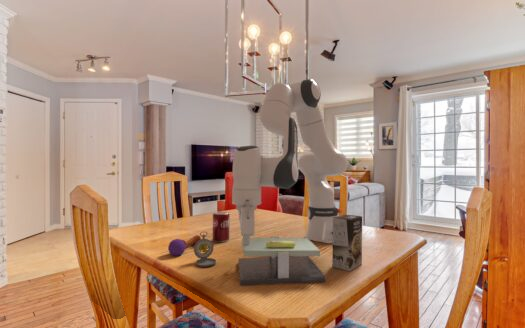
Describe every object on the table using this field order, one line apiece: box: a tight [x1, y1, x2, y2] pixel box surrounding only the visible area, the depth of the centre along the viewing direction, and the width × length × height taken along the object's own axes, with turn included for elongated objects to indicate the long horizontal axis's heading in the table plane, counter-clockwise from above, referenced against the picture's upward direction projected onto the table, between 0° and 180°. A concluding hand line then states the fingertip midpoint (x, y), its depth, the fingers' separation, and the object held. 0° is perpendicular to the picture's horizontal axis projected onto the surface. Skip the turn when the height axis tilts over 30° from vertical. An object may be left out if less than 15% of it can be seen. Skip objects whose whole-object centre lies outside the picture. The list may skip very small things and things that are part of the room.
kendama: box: [167, 234, 202, 257], centre depth 110 cm, size 6×6×20 cm
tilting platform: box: [241, 237, 321, 257], centre depth 87 cm, size 22×14×4 cm, turn 96°
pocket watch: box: [193, 231, 217, 268], centre depth 95 cm, size 8×8×10 cm
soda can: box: [212, 211, 231, 243], centre depth 123 cm, size 7×7×12 cm
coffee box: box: [331, 214, 363, 272], centre depth 93 cm, size 9×6×16 cm
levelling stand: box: [238, 236, 326, 286], centre depth 87 cm, size 24×18×8 cm
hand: (246, 243), depth 86 cm, fingers closed, pressing on tilting platform
